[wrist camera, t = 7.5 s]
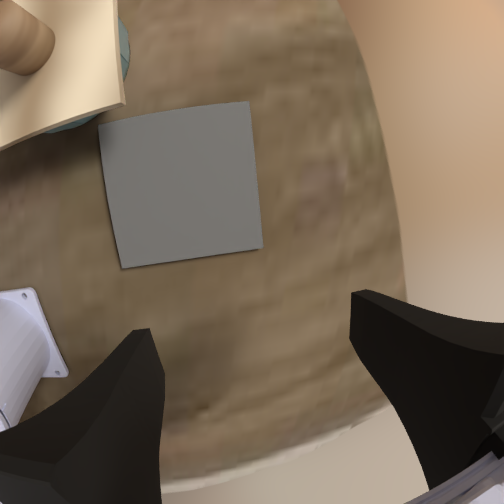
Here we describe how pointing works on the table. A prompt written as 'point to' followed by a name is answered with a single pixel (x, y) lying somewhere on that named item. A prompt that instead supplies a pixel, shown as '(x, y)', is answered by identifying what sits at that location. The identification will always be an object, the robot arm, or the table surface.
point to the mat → (182, 183)
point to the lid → (56, 64)
